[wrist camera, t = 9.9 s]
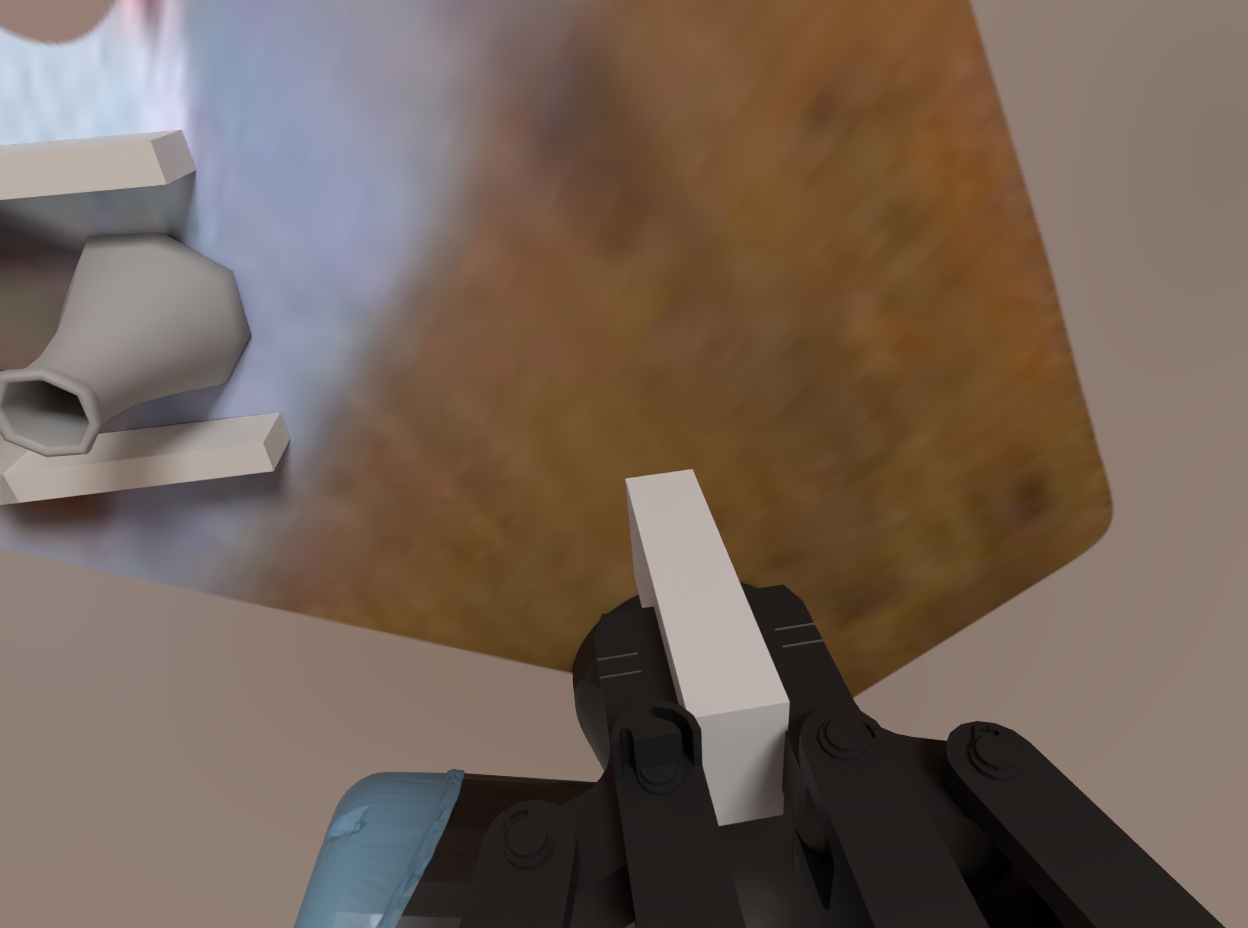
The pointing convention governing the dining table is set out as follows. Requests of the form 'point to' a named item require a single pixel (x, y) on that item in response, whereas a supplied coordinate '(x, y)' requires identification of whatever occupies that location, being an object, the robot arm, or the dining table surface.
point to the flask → (125, 341)
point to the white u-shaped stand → (140, 452)
